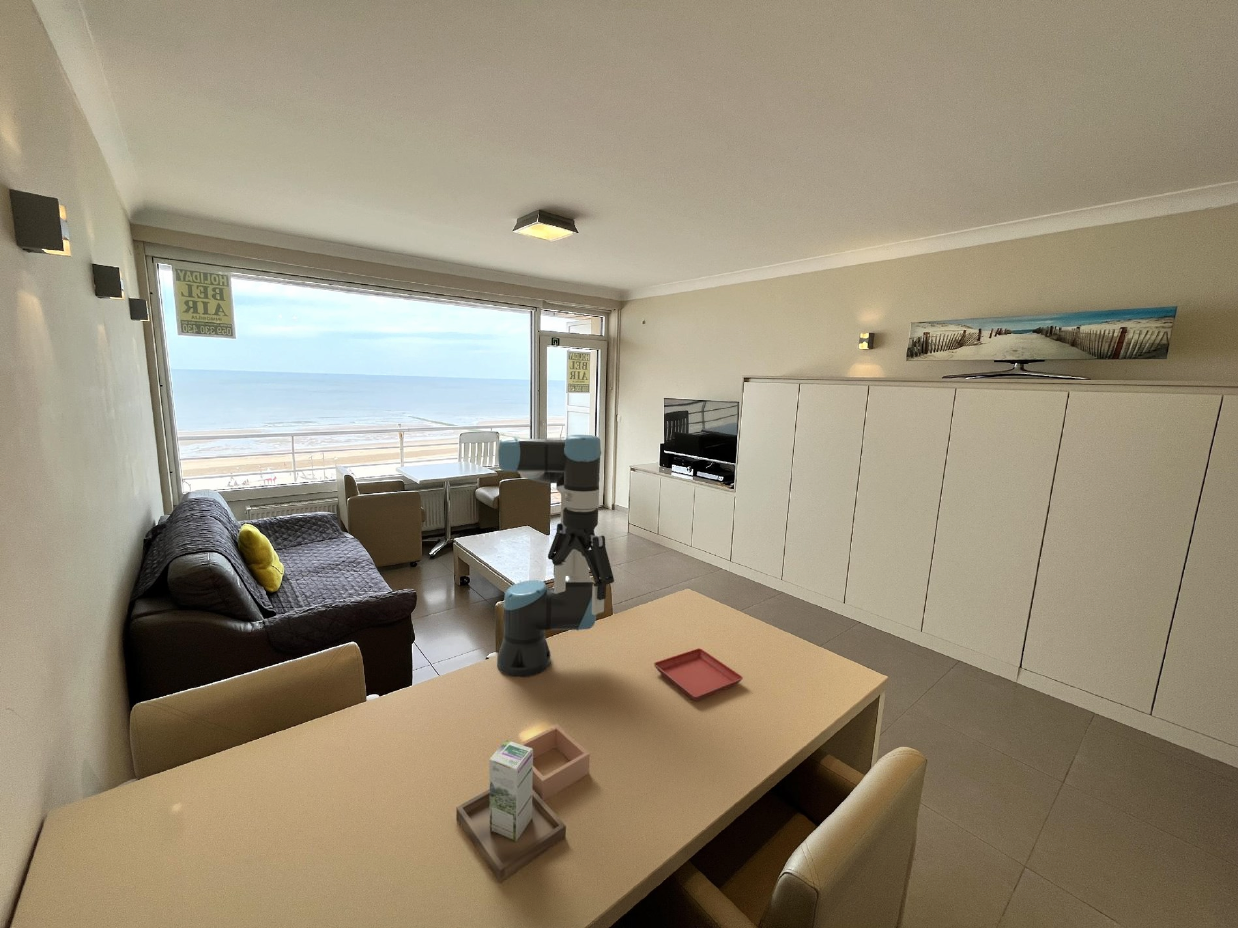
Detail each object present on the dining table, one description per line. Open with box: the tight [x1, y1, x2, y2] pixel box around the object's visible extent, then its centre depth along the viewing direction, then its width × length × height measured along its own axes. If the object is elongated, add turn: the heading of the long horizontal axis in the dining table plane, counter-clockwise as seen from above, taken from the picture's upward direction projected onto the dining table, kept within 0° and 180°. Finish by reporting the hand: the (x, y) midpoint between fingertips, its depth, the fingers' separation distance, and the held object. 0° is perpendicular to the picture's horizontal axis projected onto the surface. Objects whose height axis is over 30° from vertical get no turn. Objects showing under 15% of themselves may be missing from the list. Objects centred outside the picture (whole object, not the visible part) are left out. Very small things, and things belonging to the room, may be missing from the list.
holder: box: [519, 724, 591, 802], centre depth 105 cm, size 12×12×4 cm
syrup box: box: [489, 739, 534, 841], centre depth 90 cm, size 6×6×14 cm
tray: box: [455, 788, 567, 884], centre depth 91 cm, size 16×13×2 cm
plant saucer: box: [653, 647, 744, 702], centre depth 141 cm, size 18×18×3 cm
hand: (577, 601), depth 111 cm, fingers open, 13 cm apart
